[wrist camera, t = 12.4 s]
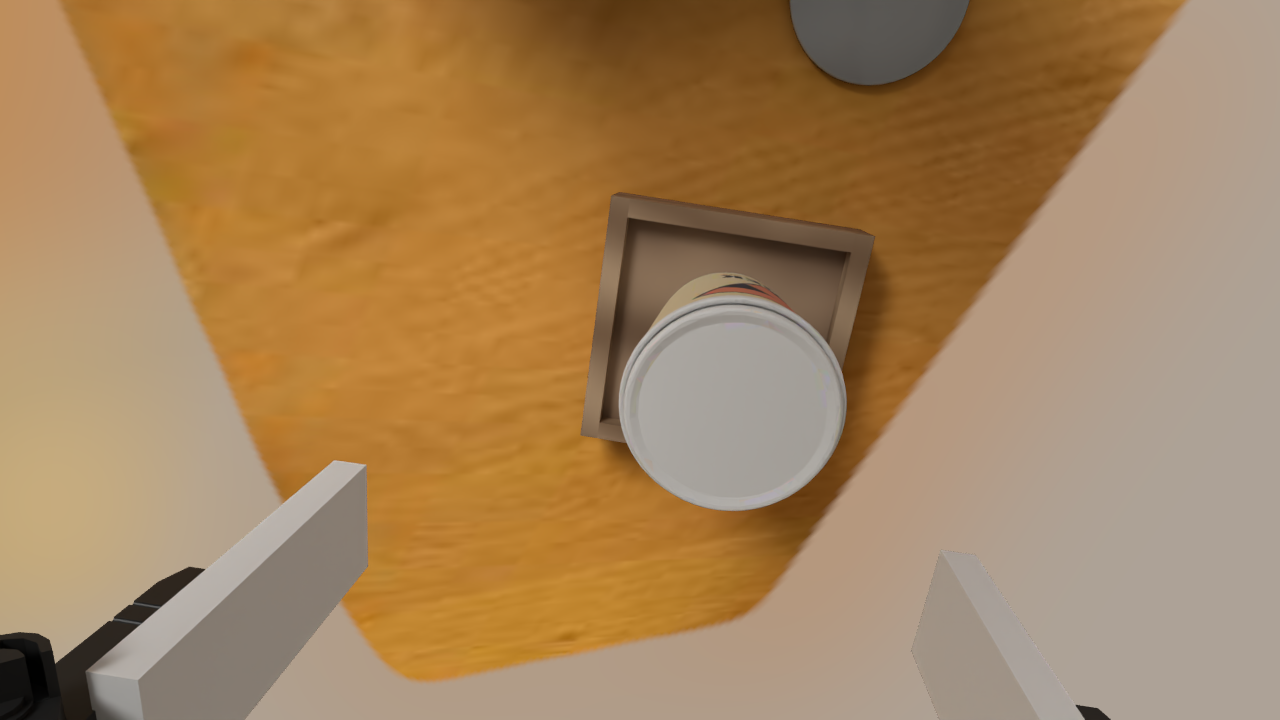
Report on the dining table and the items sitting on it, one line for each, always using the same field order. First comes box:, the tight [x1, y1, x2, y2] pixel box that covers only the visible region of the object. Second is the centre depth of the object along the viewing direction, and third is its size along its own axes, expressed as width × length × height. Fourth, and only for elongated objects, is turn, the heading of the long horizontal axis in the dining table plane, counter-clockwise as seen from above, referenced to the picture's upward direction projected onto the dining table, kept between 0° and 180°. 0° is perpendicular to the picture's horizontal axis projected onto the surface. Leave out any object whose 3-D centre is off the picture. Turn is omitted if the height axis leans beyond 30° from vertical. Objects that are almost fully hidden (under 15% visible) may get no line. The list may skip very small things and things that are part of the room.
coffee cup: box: [619, 273, 847, 511], centre depth 33 cm, size 9×9×12 cm
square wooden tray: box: [581, 192, 875, 443], centre depth 39 cm, size 14×14×4 cm
